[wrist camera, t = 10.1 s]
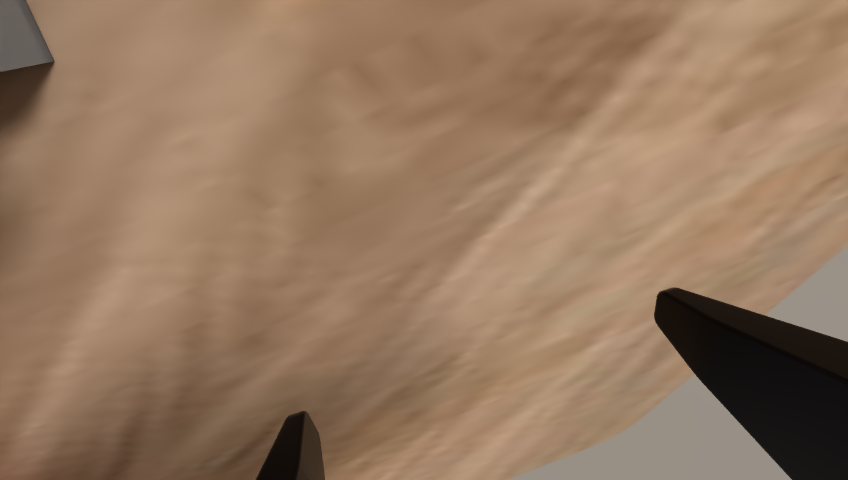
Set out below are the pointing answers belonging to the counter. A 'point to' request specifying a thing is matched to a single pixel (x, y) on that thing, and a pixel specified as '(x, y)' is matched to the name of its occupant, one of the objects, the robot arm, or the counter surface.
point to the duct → (20, 37)
